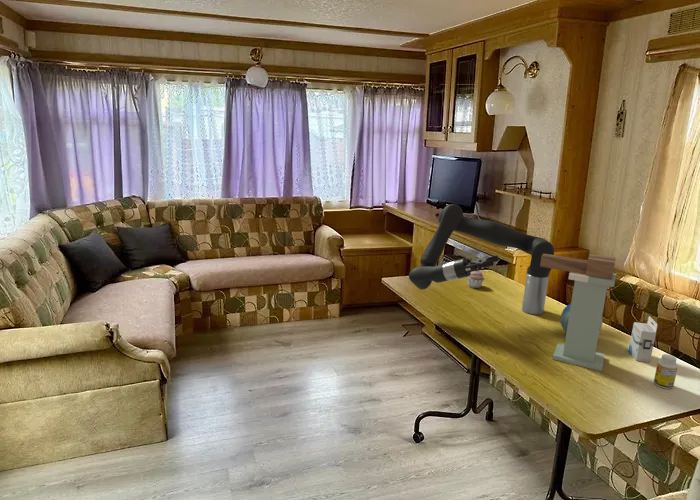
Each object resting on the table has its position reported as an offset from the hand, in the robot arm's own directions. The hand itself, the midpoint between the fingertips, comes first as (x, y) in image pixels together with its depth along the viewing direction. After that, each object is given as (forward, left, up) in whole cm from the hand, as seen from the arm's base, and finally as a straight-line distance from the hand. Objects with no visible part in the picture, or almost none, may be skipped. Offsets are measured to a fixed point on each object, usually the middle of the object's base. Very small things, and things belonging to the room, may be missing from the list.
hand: (495, 260), depth 191 cm
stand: (+5, +34, -30) cm, 46 cm away
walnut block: (+5, +29, +2) cm, 29 cm away
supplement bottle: (+10, +60, -30) cm, 68 cm away
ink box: (-10, +53, -30) cm, 62 cm away
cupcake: (-54, -21, -30) cm, 65 cm away
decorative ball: (-15, +32, -30) cm, 47 cm away
